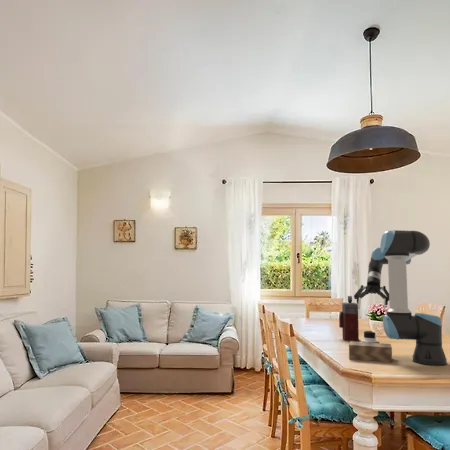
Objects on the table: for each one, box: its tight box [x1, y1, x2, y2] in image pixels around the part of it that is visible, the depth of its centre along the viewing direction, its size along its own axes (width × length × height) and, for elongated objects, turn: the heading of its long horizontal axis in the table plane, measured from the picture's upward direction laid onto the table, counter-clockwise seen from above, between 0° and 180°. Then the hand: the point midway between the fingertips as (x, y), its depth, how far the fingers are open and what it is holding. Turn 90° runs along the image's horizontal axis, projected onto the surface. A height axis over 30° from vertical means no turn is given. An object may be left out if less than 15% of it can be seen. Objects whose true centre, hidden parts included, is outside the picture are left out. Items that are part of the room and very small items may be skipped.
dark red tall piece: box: [338, 295, 360, 342], centre depth 281 cm, size 9×11×28 cm
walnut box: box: [348, 341, 393, 363], centre depth 218 cm, size 20×12×7 cm, turn 72°
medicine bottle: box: [360, 330, 380, 343], centre depth 230 cm, size 7×7×12 cm
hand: (371, 308), depth 242 cm, fingers open, 13 cm apart
